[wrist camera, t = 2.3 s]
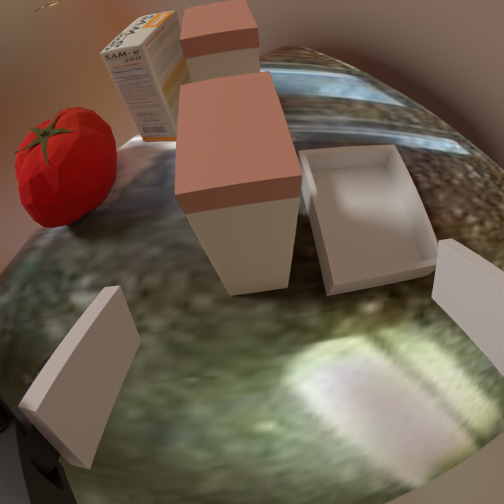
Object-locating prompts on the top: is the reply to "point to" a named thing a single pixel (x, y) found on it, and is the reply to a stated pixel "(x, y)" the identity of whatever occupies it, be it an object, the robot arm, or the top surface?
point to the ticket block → (220, 40)
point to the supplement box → (150, 73)
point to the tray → (365, 217)
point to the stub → (239, 179)
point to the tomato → (66, 167)
